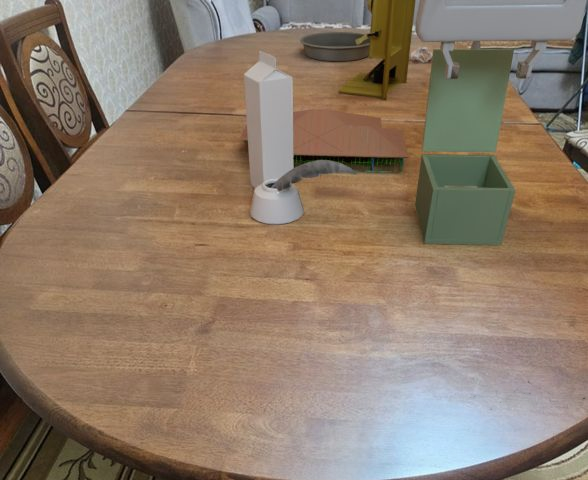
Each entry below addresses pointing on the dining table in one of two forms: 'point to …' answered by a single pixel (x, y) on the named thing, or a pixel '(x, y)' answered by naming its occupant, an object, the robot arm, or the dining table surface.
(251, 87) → the milk
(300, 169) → the inkwell
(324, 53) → the cake pan
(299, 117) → the house
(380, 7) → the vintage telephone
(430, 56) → the beige rough lump
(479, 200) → the chest
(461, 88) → the lid
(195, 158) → the dining table surface
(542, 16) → the robot arm
